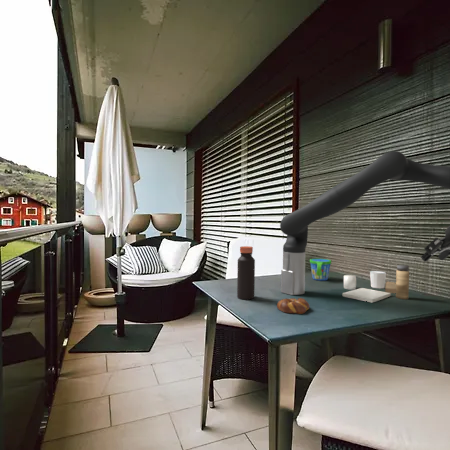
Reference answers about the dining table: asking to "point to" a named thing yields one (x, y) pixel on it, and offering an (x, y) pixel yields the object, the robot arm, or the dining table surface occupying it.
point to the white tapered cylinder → (377, 279)
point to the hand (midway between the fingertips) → (431, 259)
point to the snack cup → (320, 269)
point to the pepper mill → (402, 282)
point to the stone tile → (366, 295)
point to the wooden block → (390, 287)
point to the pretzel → (293, 305)
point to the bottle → (246, 274)
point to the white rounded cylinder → (349, 282)
